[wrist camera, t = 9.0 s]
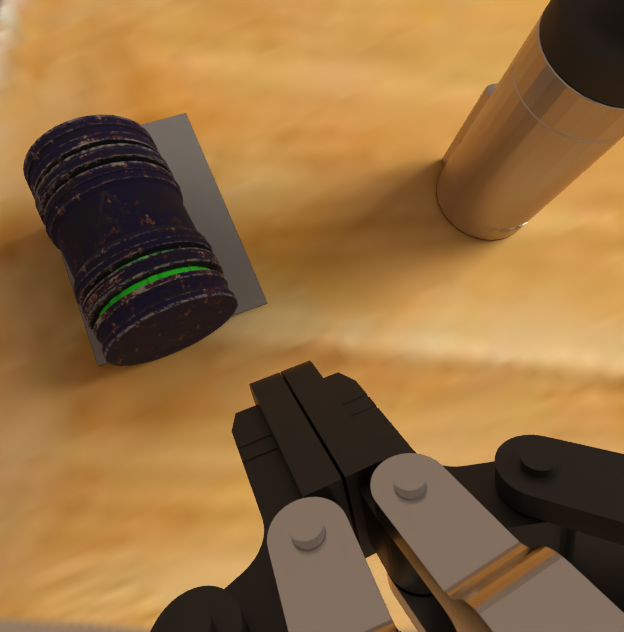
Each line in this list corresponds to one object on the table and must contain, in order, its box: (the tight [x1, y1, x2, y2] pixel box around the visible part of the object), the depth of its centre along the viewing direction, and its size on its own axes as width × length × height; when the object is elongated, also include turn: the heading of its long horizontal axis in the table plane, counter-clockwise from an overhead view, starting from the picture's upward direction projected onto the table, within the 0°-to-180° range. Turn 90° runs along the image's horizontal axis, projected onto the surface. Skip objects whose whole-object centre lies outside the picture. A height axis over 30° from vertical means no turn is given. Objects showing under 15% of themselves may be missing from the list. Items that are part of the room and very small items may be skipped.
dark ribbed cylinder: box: [23, 115, 238, 366], centre depth 35 cm, size 10×10×15 cm
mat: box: [60, 113, 267, 366], centre depth 41 cm, size 20×14×1 cm
